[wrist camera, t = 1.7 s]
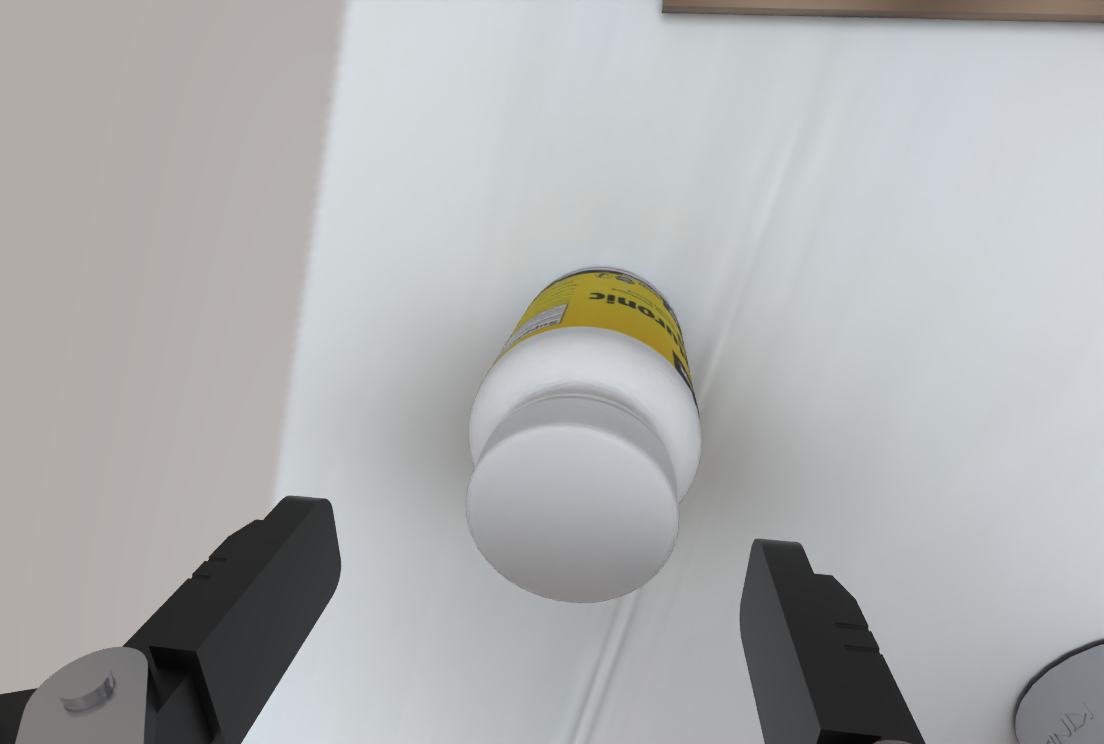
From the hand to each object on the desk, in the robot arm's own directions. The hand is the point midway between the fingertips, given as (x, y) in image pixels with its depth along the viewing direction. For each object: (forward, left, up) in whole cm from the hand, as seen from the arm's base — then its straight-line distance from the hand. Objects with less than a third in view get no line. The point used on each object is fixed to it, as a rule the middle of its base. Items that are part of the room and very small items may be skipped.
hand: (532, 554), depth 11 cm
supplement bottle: (-1, -1, -11) cm, 11 cm away
